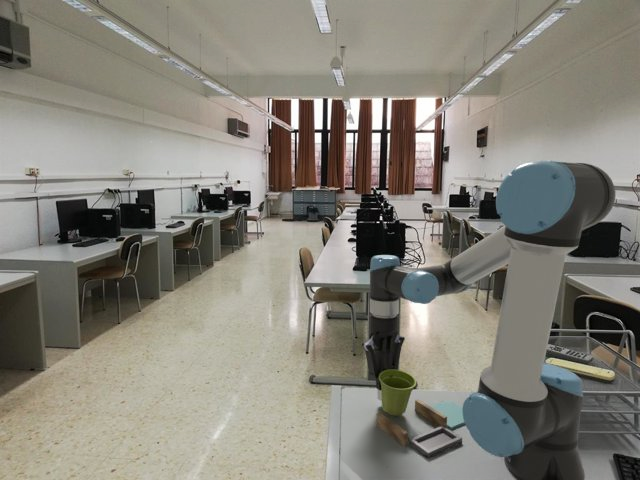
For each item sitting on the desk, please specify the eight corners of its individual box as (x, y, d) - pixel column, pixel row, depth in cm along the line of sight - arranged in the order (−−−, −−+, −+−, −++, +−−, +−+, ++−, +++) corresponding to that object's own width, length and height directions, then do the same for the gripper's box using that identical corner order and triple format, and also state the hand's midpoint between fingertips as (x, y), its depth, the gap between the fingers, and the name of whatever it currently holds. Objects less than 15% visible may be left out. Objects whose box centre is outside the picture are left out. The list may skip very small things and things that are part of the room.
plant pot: (416, 420, 107) (421, 389, 105) (379, 420, 106) (383, 388, 104) (406, 398, 116) (410, 369, 114) (372, 398, 115) (375, 368, 113)
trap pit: (462, 442, 100) (462, 437, 100) (428, 458, 94) (428, 453, 94) (442, 430, 105) (442, 425, 105) (408, 443, 99) (409, 439, 99)
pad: (478, 418, 110) (478, 416, 110) (451, 429, 105) (451, 427, 105) (447, 401, 119) (447, 399, 119) (421, 411, 113) (421, 409, 113)
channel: (446, 428, 106) (447, 416, 105) (404, 445, 98) (404, 433, 98) (417, 409, 114) (417, 399, 114) (376, 425, 107) (376, 413, 106)
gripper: (393, 307, 119) (392, 388, 122) (355, 314, 112) (354, 400, 115) (412, 313, 113) (411, 399, 115) (373, 321, 106) (372, 412, 108)
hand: (383, 399), depth 115 cm, fingers closed, pressing on plant pot
